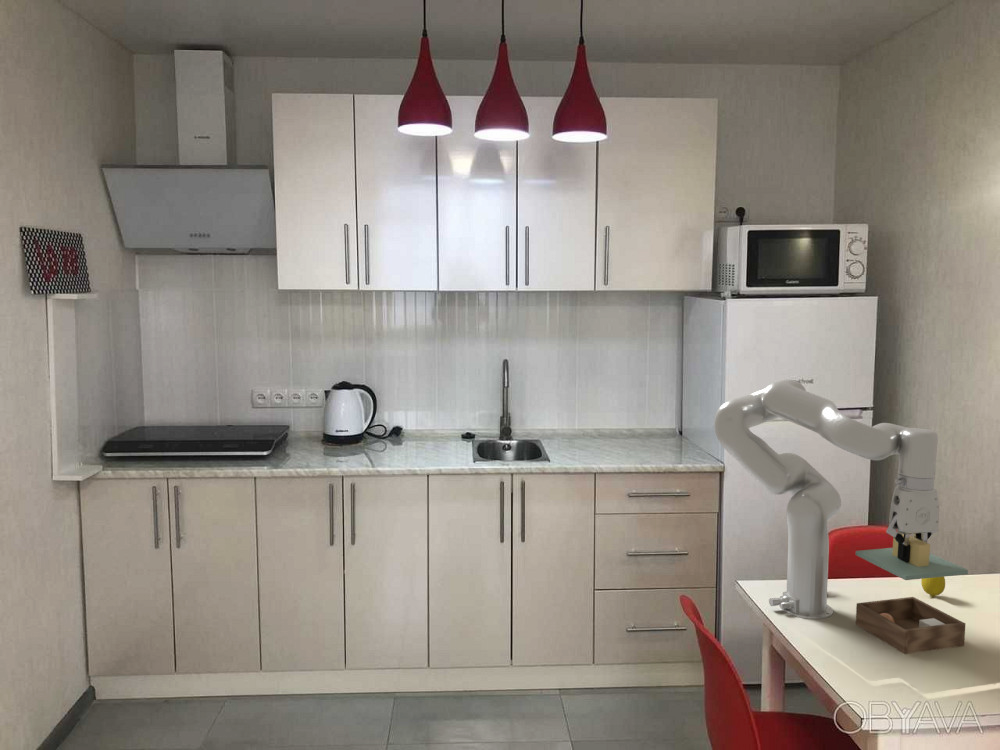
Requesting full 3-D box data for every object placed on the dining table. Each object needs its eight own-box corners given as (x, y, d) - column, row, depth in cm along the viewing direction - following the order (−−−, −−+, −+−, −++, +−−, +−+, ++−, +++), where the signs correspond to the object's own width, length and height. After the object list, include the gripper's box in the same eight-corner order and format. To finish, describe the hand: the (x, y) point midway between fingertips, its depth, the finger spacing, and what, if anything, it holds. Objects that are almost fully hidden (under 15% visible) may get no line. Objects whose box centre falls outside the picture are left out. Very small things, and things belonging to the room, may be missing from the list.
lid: (905, 580, 173) (907, 553, 173) (855, 554, 189) (857, 530, 188) (967, 574, 177) (969, 548, 176) (913, 549, 193) (915, 526, 192)
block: (931, 643, 180) (932, 627, 179) (918, 636, 184) (919, 619, 183) (946, 641, 181) (947, 625, 180) (932, 634, 185) (933, 618, 184)
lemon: (915, 595, 210) (917, 566, 209) (930, 591, 212) (931, 562, 212) (935, 602, 205) (936, 572, 204) (949, 598, 207) (950, 569, 207)
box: (903, 657, 175) (905, 631, 175) (855, 627, 191) (856, 603, 190) (963, 648, 179) (965, 623, 178) (911, 620, 194) (913, 596, 194)
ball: (883, 634, 185) (884, 617, 184) (871, 627, 189) (872, 611, 188) (898, 632, 186) (898, 616, 185) (886, 625, 190) (886, 609, 189)
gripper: (897, 488, 175) (891, 568, 177) (958, 484, 179) (952, 562, 181) (873, 480, 182) (868, 556, 185) (933, 476, 186) (927, 551, 189)
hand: (910, 559), depth 183 cm, fingers closed on lid, 3 cm apart
